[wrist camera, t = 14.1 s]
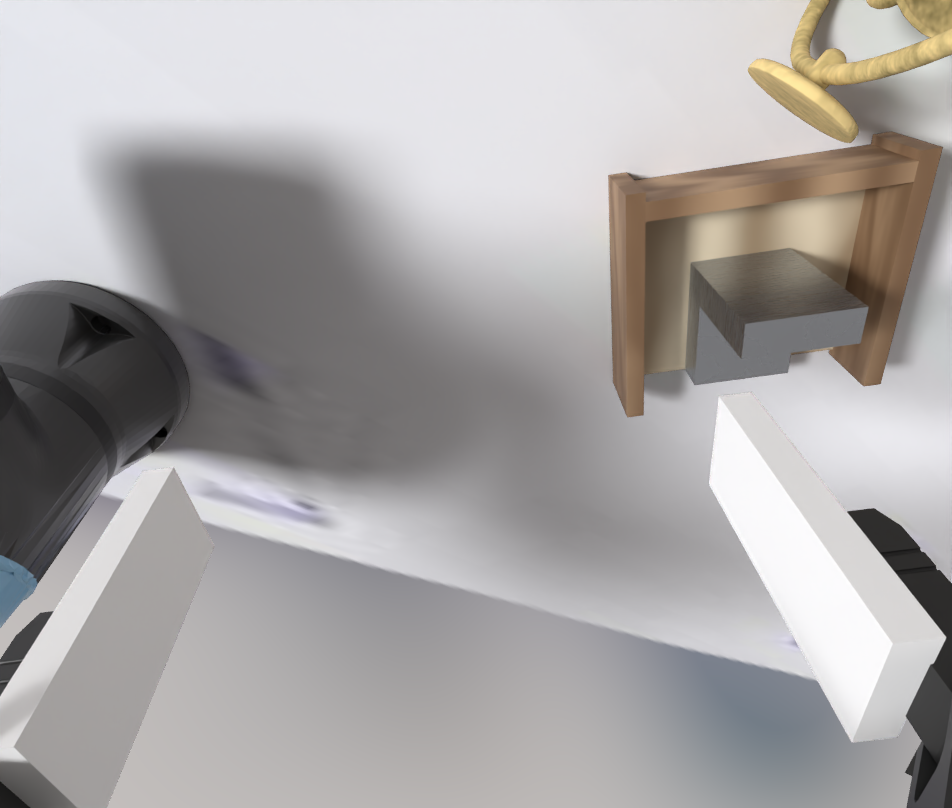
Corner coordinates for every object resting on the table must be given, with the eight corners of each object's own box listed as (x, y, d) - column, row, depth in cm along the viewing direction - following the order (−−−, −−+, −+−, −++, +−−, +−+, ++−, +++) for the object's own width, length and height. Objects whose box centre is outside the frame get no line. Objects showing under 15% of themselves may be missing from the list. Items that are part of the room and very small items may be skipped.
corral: (613, 382, 50) (627, 417, 46) (608, 175, 41) (625, 195, 37) (844, 351, 49) (880, 384, 45) (891, 131, 40) (942, 147, 36)
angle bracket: (690, 262, 44) (745, 323, 36) (789, 247, 44) (868, 306, 35) (684, 369, 49) (731, 445, 41) (774, 357, 48) (839, 431, 40)
